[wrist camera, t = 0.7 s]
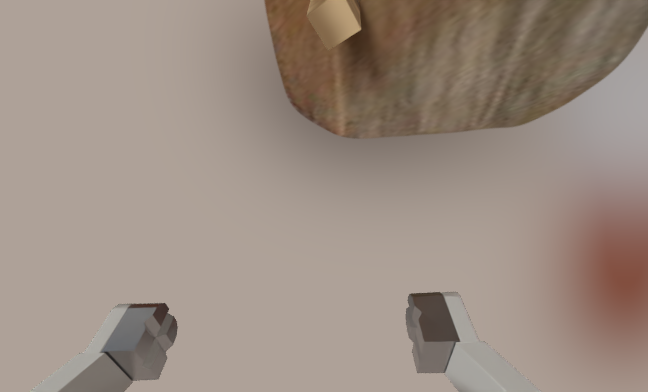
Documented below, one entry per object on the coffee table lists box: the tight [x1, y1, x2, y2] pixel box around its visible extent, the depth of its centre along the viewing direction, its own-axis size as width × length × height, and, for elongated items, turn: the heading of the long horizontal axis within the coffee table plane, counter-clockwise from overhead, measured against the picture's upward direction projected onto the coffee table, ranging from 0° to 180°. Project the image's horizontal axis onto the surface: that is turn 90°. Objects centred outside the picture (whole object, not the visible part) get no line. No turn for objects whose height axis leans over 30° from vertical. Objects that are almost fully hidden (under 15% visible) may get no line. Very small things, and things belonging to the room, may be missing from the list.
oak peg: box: [307, 0, 361, 51], centre depth 34 cm, size 4×4×12 cm
